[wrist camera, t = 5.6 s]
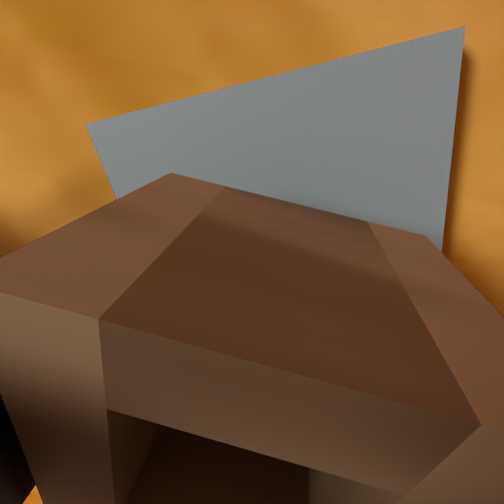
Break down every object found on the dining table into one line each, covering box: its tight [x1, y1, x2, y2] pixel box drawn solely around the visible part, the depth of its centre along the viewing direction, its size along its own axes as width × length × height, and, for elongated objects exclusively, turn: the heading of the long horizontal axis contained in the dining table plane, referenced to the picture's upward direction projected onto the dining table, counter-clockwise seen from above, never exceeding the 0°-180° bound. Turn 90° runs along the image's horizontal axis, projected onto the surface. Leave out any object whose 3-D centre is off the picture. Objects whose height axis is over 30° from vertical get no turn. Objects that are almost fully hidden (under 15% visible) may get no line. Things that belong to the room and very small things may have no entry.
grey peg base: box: [85, 26, 465, 253], centre depth 9 cm, size 12×12×8 cm
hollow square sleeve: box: [0, 172, 504, 504], centre depth 6 cm, size 6×6×5 cm
